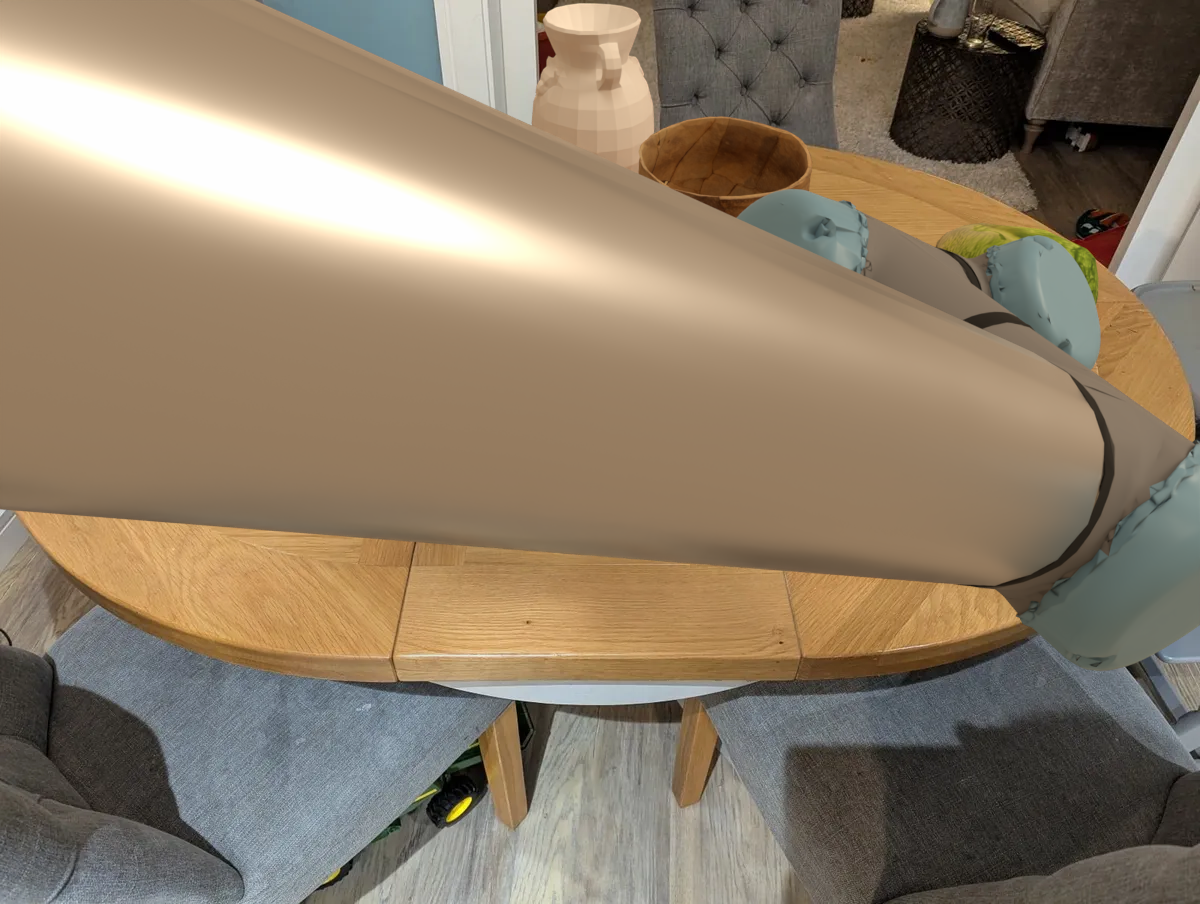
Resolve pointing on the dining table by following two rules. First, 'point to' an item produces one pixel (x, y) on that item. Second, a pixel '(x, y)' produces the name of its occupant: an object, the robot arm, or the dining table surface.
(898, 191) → the dining table surface
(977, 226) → the lettuce
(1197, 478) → the robot arm
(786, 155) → the bowl
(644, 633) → the dining table surface
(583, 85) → the pitcher
